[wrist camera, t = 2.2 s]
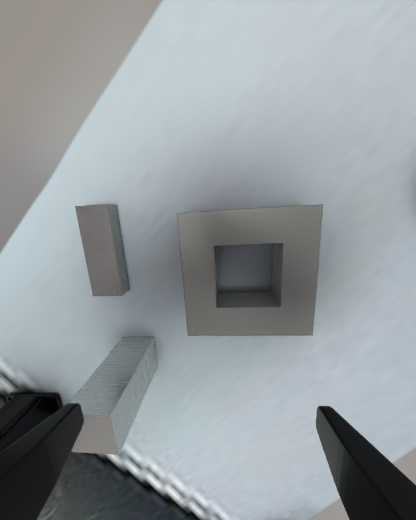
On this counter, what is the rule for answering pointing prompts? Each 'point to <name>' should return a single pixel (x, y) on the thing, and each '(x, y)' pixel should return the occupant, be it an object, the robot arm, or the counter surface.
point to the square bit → (115, 395)
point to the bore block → (283, 270)
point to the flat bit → (103, 249)
